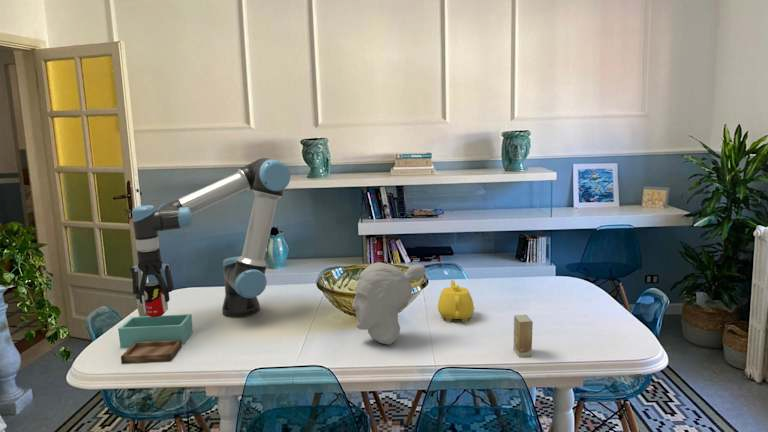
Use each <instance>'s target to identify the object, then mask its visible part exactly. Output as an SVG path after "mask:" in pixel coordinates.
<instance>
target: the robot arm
mask: <svg viewBox="0 0 768 432" xmlns="http://www.w3.org/2000/svg"><path fill="white" fill-rule="evenodd" d="M290 180H291V173H290V169H289V168H288V166H287V165H286V164H285V163H284V162H283V161H280V160H278V159H274V158H269V157H268V158H265V157H263V158H262V157H261V158H258V159H256V160H254V161H252V162H250V163H248V164H247V165H244V166H242V167H240V168H239V169H237V172H235V173H233V174H231V175H229V176H227V177H225V178H222V179H220V180H218V181H215V182H213V183H211V184H209V185H207V186H204V187H203V188H199V189H198V190H195V191H193V192H191V193H189V194H187V195H184V196H182V197H179V198H178V199H176V200H173V201H171V202H166V203H163V204H161V205H160V206H159V207H158V209H155V206H154V205H152V204H151V205H150V204H149V205H140V206H135V207H133V208H132V212H131V213H132V224H133V225H132V226H133V232H134V238H135V246H136V250H137V254H136V255H137V261H138V262H137V263H138V264H137V265H133V266H132V267H130V269H129V270H130V272H131V277H132V294H133V295H136V294H138V295H139V298H140V303H141V304H143V309H144V313H147V310H146V302H145V295H144V288H145V284H146V283H148V278H149V276H150V275H151V276H154V277H155V278H156V281H158V283H159V285H160V287H161V289H162V291H163V294H162V302H163V310H164V312H165V313H166V312H167V311H168V310H169V304H168V302H170V293H171V292H172V291H173V290H174V289H175V288H174V282H173V278H172V273H171V266H172V265H171V264H170V263H168V264H167V263H163V262H162V255H161V249H160V248H159V247H160V239H159V233H158V232H165V231H172V230H180V229H182V230H183V229H186V228H190V227H191V226H192V225H193V217H192V215H194V214H196V213H199V212H200V211H203V210H204V209H206V208H209V207H211V206H213V205H216V204H217V203H220V202H222V201H224V200H227V199H229V198H230V197H233V196H235V195H237V194H239V193H241V192H244V191H245V190H246V191H249V192H250V191H252V193H253V194H254V198H253V199H254V200H253V204H252V209H251V214H250V217H249V222H248V226H247V231H246V236H245V240H244V244H243V248H242V252H241V255H240V256H239V255H238V256H232V257H227V258H225V259H223V261H222V268H223V278H224V279H223V280H224V291H225V295H224V299H223V304H222V307H221V308H222V309H221V310H222V314H223V316H225V317H230V318H241V317H242V318H244V317H248V316H252V315H254V314H256V313H259V312H260V310H261V305H260V302H259V299H258V296H260V295H261V294H262V293H263V292H264V291H265V290H266V287H267V284H268V283H267V277H266V275H265V274H266V271H267V270H266V269H267V265H268V264H267V263H266V261H265V256H266V253H267V248H268V243H269V240H270V236H271V230H272V225H273V221H274V217H275V213H276V207H277V203H278V200H280V199H281V198H283V195H284V191H285V189H286V188H287V187H288V186H289V183H290V182H291V181H290ZM161 269H162V270H164V277H163V273H162V271H161ZM139 270H140V271H141V272H142V273H141V281H140V285H139ZM164 278H165V279H164ZM165 280H166V281H165Z"/></svg>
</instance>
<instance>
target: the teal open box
mask: <svg viewBox="0 0 768 432" xmlns="http://www.w3.org/2000/svg"><path fill="white" fill-rule="evenodd" d="M193 328H194V326H193V319H192V314H190V313H189V314H187V313H186V314H169V315H167V314H166V315H165V314H163V315H162V316H159V317H150V316H140V317H139V316H131V317H130V318H128V319H127V320H126V321H125V322H124V323H123V324H122V325H121V326H120V327H118V335H119V337H118V339H119V346H120V348H130V347H131V346H132V345H133V344H134V343H135V342H150V341H171V340H181V344H182V346H183V345H184V344H185V343H186V341H188V339H189V338H190V337H191V335H192V334H193V333H194V329H193Z"/></svg>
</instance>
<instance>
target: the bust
mask: <svg viewBox="0 0 768 432" xmlns="http://www.w3.org/2000/svg"><path fill="white" fill-rule="evenodd" d="M425 274H426V267H425V266H424V265H423V264H418V263H416V264H412V265H411V266H409V267H408V268H407V270H406V271H403V270H402V269H400V268H399V267H397V266H395V265H392V264H388V263H385V262H378V261H377V262H375V263H372V264H370V265H368V266H367V267H365V268H364V269H363V270H362V271H361V273H360V275H359V276H358V280H357V282H356V288H355V296H354V299H353V301H352V304H351V307H352V308H353V310H355V313H354V314H355V317H356V319H357V320H356V325H355V326H356V328H357V329H358V330H362V331H364V330H367V333H368V335H370V338H371V339H373V340H374V341H377V342H379V343H380V344H383V345H392V343H394V342H395V341H397V339H398V338H399V335H400V332H401V326H400V323H399V311H400V309H401V308H403V307H404V306H405V305H406V304H407V303H408V301H409V299H411V296H412V292H413V287H412V281H419V280H421V279H423V278H424V276H425Z"/></svg>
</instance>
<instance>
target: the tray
mask: <svg viewBox="0 0 768 432" xmlns="http://www.w3.org/2000/svg"><path fill="white" fill-rule="evenodd" d="M182 347H183V345H182V344H181V340H171V341H150V342H135V343H134V344H133V345H132V346H131V347H128V349H127V350H126V351H125V352H124V353H123V354H122V355H121V356H120V361H121V364H140V363H161V362H162V363H163V362H164V363H165V362H172V361H173V359H174V357H176V355H177V354H178V353H179V351H180V350H181V348H182Z"/></svg>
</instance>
